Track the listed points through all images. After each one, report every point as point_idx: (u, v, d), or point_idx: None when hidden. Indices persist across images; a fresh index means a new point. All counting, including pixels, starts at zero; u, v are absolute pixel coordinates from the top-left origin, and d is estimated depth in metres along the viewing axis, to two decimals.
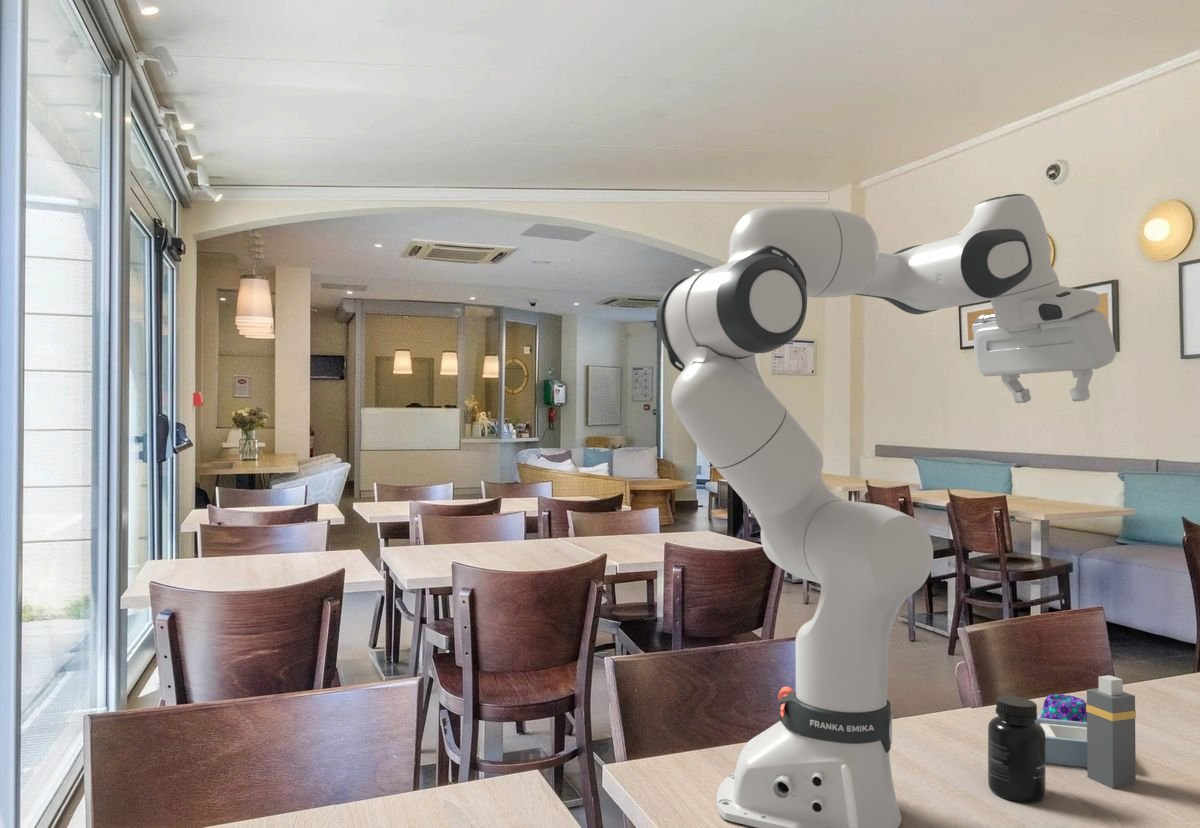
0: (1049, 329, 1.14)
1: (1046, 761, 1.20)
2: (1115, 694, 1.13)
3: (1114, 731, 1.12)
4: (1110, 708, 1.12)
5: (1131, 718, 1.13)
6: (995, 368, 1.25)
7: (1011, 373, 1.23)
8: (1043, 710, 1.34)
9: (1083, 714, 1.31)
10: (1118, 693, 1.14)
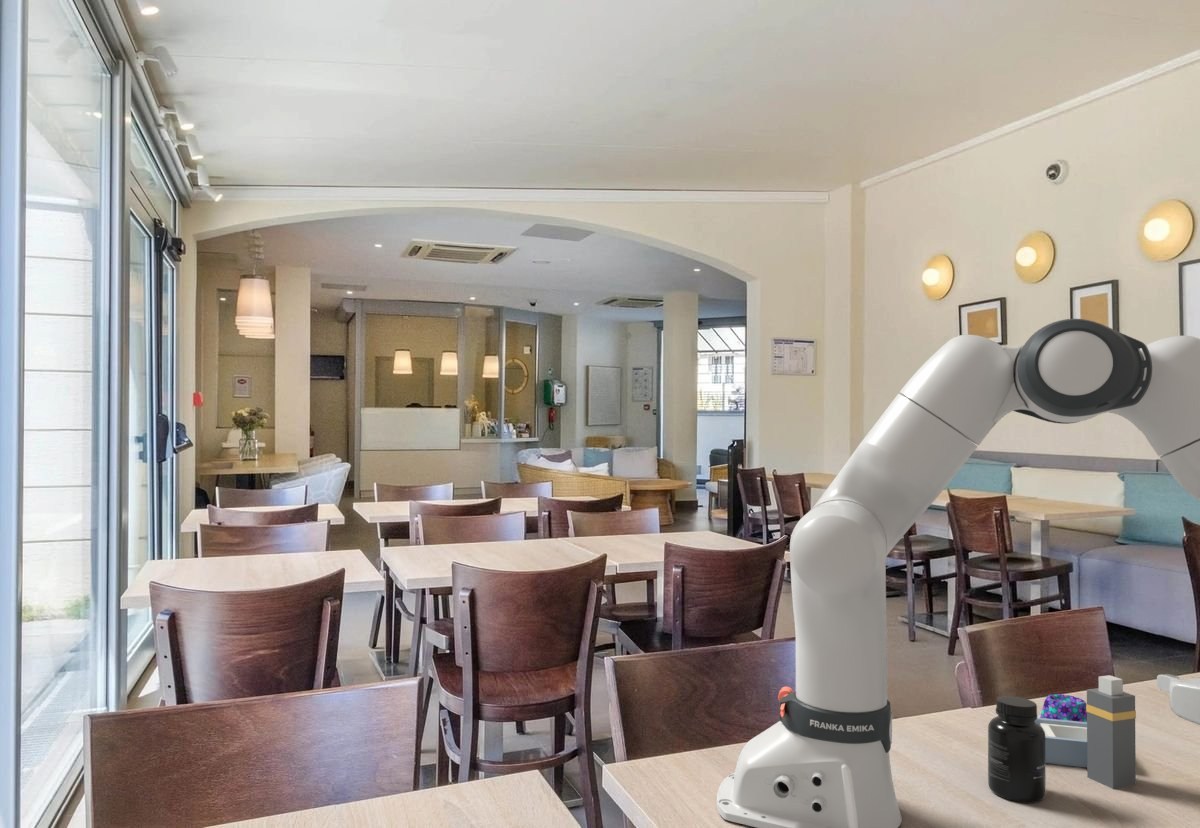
0: None
1: (1046, 761, 1.20)
2: (1115, 694, 1.13)
3: (1114, 731, 1.12)
4: (1110, 708, 1.12)
5: (1131, 718, 1.13)
6: None
7: None
8: (1043, 710, 1.34)
9: (1083, 714, 1.31)
10: (1118, 693, 1.14)
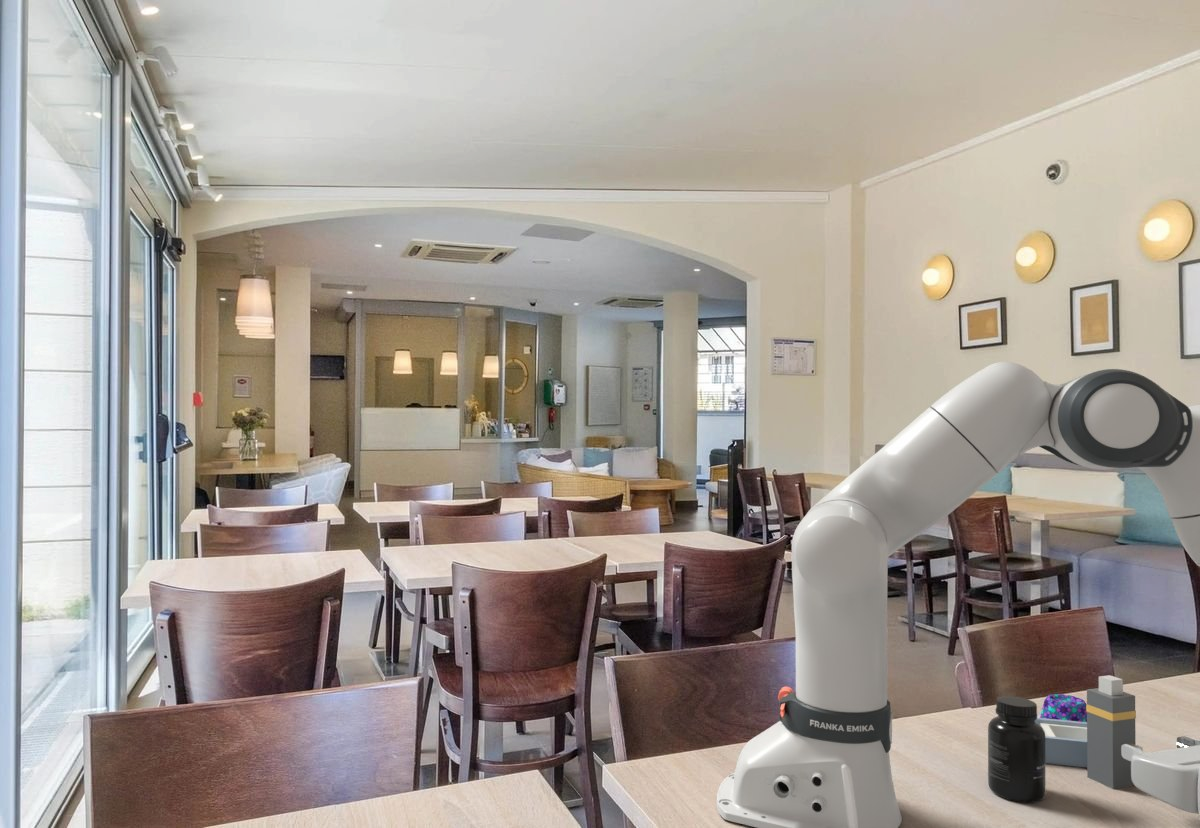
0: None
1: (1046, 761, 1.20)
2: (1115, 694, 1.13)
3: (1114, 731, 1.12)
4: (1110, 708, 1.12)
5: (1131, 718, 1.13)
6: None
7: None
8: (1043, 710, 1.34)
9: (1082, 714, 1.31)
10: (1118, 693, 1.14)
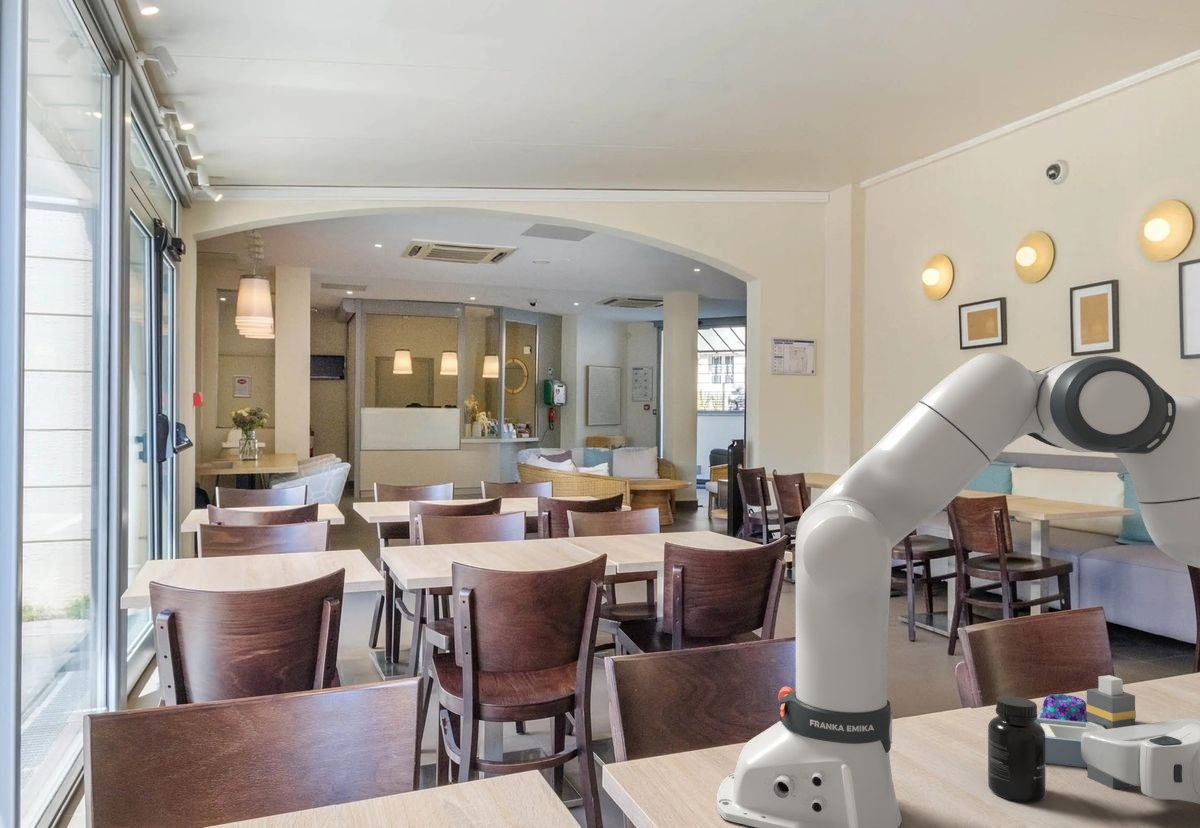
0: None
1: (1046, 761, 1.20)
2: (1115, 694, 1.13)
3: None
4: (1110, 708, 1.12)
5: (1131, 718, 1.13)
6: (1181, 721, 1.12)
7: (1160, 722, 1.12)
8: (1042, 709, 1.35)
9: (1081, 714, 1.31)
10: (1118, 693, 1.14)
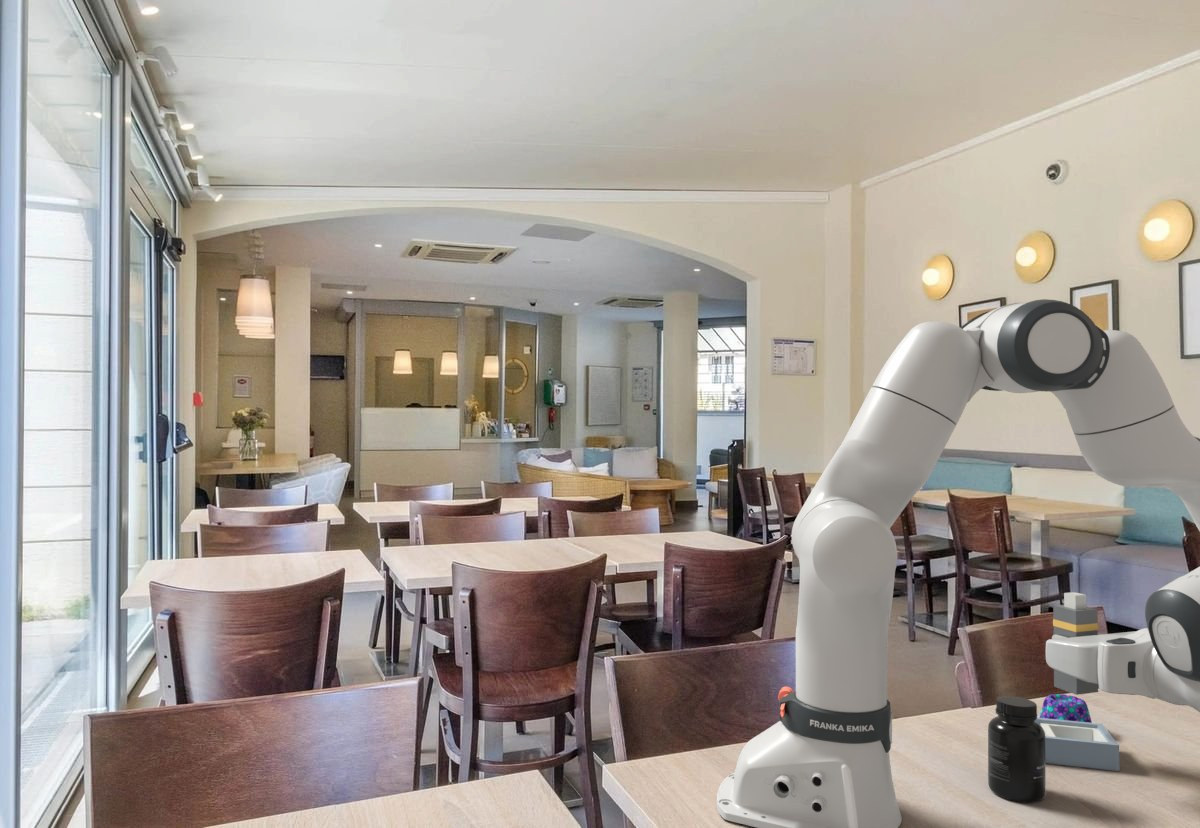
0: None
1: (1046, 761, 1.20)
2: (1079, 608, 1.22)
3: None
4: (1074, 620, 1.21)
5: (1094, 630, 1.22)
6: None
7: None
8: (1042, 709, 1.35)
9: (1080, 714, 1.31)
10: (1082, 607, 1.23)
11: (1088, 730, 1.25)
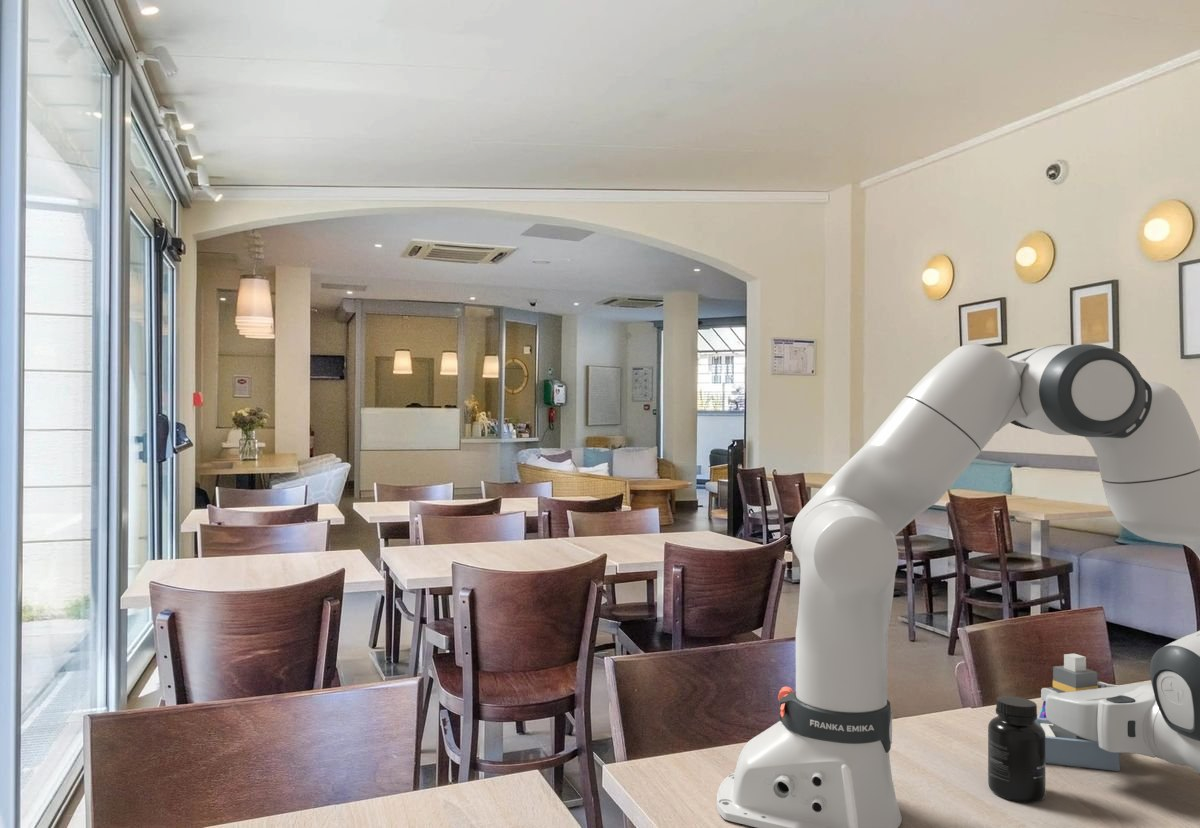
0: None
1: (1046, 761, 1.20)
2: (1079, 670, 1.22)
3: None
4: (1074, 683, 1.21)
5: None
6: (1139, 685, 1.21)
7: None
8: (1042, 708, 1.35)
9: None
10: (1082, 670, 1.22)
11: None
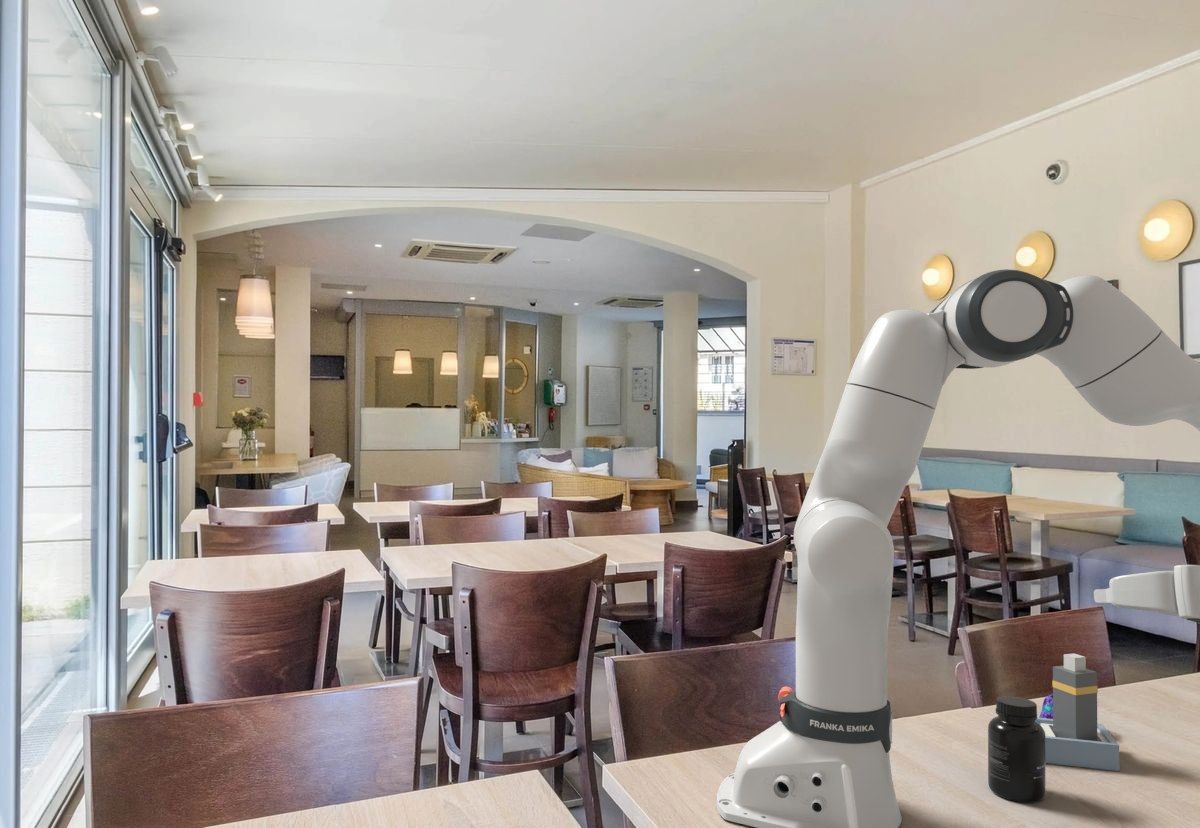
0: None
1: (1046, 761, 1.20)
2: (1078, 670, 1.22)
3: (1077, 704, 1.21)
4: (1073, 683, 1.21)
5: (1093, 693, 1.22)
6: None
7: None
8: (1042, 708, 1.35)
9: None
10: (1081, 669, 1.23)
11: None
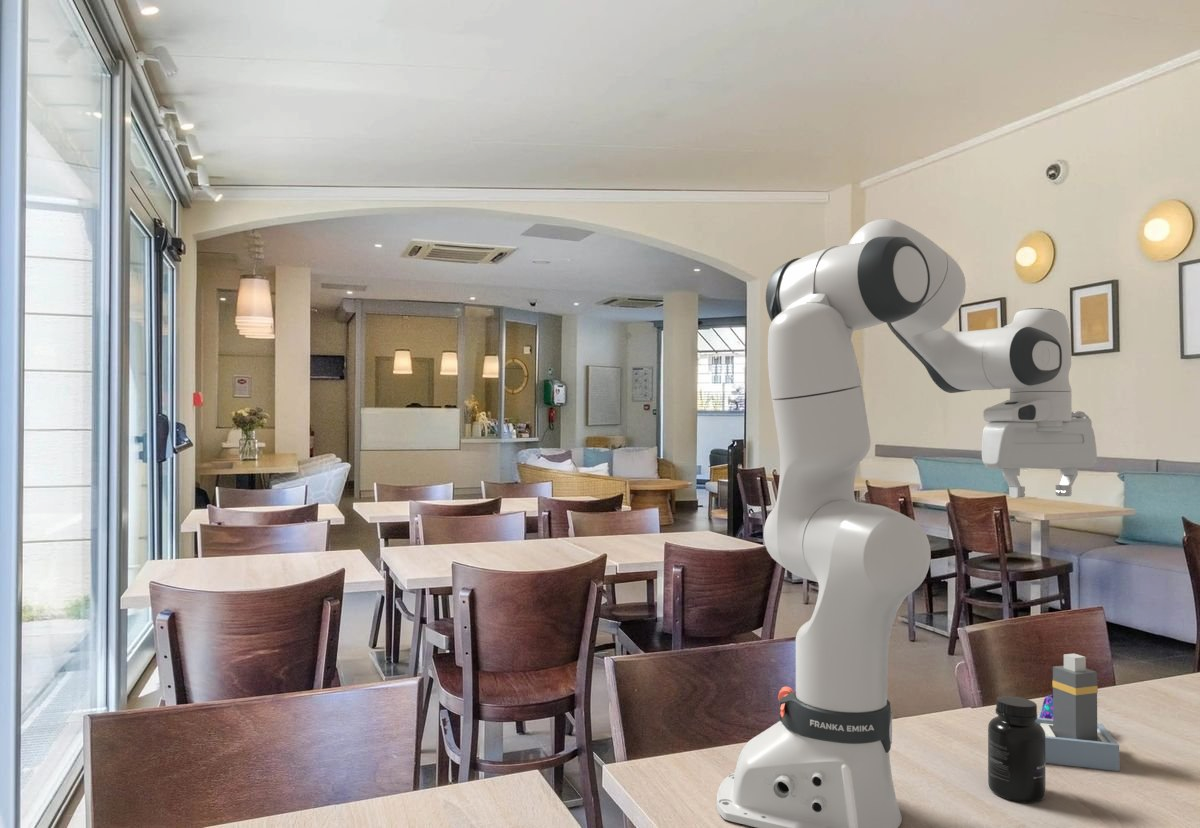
0: None
1: (1046, 761, 1.20)
2: (1078, 670, 1.22)
3: (1077, 704, 1.21)
4: (1073, 683, 1.21)
5: (1093, 693, 1.22)
6: None
7: None
8: (1042, 708, 1.35)
9: None
10: (1081, 669, 1.23)
11: None
